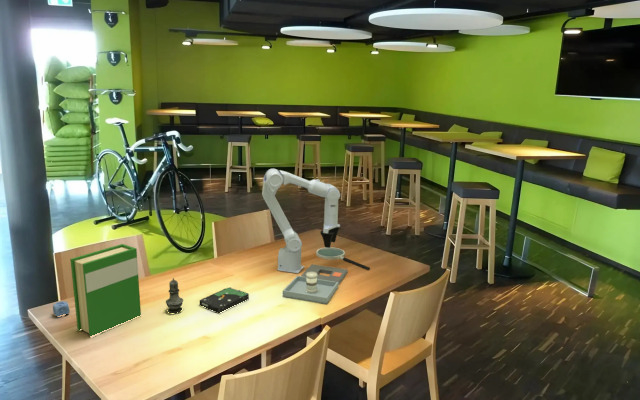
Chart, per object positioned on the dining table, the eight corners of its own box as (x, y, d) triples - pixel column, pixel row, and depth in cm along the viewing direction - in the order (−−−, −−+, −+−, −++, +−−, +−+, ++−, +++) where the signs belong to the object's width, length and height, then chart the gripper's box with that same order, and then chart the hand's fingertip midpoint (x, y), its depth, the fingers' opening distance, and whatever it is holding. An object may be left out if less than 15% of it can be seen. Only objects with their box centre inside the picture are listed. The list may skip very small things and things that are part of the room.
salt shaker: (167, 315, 160) (165, 282, 157) (164, 308, 165) (162, 276, 162) (185, 312, 162) (184, 279, 159) (181, 305, 167) (180, 273, 164)
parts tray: (282, 296, 176) (282, 290, 176) (297, 281, 190) (297, 275, 190) (326, 304, 171) (326, 298, 170) (338, 288, 185) (338, 282, 185)
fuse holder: (300, 279, 192) (300, 275, 192) (311, 267, 205) (311, 263, 205) (338, 285, 188) (338, 281, 187) (347, 272, 201) (347, 269, 200)
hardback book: (91, 338, 145) (84, 264, 139) (77, 330, 149) (70, 258, 143) (141, 316, 159) (136, 248, 153) (127, 310, 163) (122, 243, 157)
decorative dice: (66, 310, 161) (65, 300, 160) (70, 315, 158) (68, 304, 157) (53, 314, 158) (52, 303, 158) (56, 318, 156) (55, 307, 155)
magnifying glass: (358, 275, 200) (358, 270, 200) (310, 254, 222) (310, 250, 222) (378, 267, 209) (379, 263, 208) (331, 248, 231) (331, 245, 231)
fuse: (304, 292, 179) (304, 275, 177) (307, 288, 183) (308, 271, 181) (314, 294, 178) (315, 276, 176) (318, 289, 182) (318, 272, 180)
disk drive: (219, 315, 162) (249, 300, 174) (219, 308, 161) (249, 293, 173) (199, 307, 168) (229, 292, 179) (198, 300, 167) (228, 285, 179)
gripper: (335, 219, 192) (334, 251, 196) (344, 210, 206) (343, 240, 209) (318, 217, 194) (317, 248, 198) (329, 209, 208) (328, 238, 211)
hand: (330, 244), depth 203 cm, fingers open, 7 cm apart
